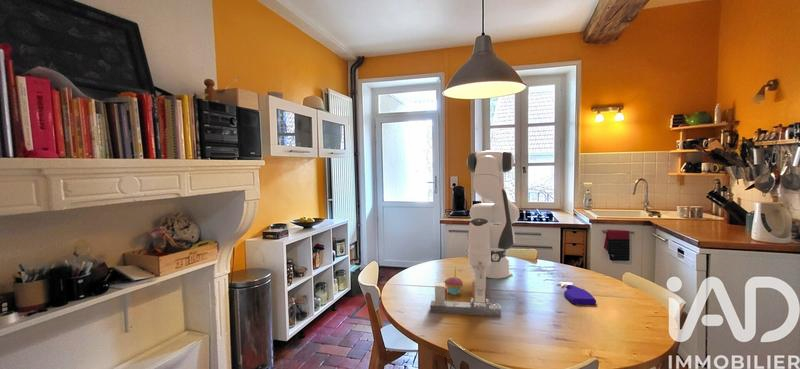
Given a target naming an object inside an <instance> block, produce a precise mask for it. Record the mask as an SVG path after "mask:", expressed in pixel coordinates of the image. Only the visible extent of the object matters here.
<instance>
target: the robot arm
mask: <svg viewBox="0 0 800 369" xmlns="http://www.w3.org/2000/svg"><path fill="white" fill-rule="evenodd" d="M514 164H515V158H514V156H513V152H511V151H509V150H496V149H495V150H494V149H490V150H483V151H482V150H480V151H472V152H470V153H469V154H468V155H467V159H466V165H467V169H468V171H470V172H471V173H474V175H473V190H474V192H475V193H476V194H477V195H478V196H479V197H481V198H483V199H484V200H487V201H490V202H479V203H475V204H473V205H472V206H471V207H470V209H469V217H470V219H471V220H470V221H469V226H468V230H467V242H468V245H469V246H468V253H467V254H468V259H467V260H468V262H467V263H468V264H469V265H470V266H471V269H473V274H474V279H475V283H476V289H477V290H478V296H483V290H485V291H486V289H487V284H486V283H487V278H490V279H504V278H505V279H506V278H507V277H510V276H513V272H512V271H510V260H509V259H508V258H507V250H509V249H511V248H512V247H513V246H514V245H515V242H516V235H515V230H514V228H513V225H512V224H516V223H517V221H518V220H519V218H520V209H519V207H518V206H517V205H515V204H514V203H512V202H511V201H510V199H509V198H508V195H507V192H506V190H505V179H504V178H505V177H504V173H508V172H510V171H511V170H512V169H513V167H514Z"/></svg>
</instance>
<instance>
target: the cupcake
mask: <svg viewBox="0 0 800 369" xmlns="http://www.w3.org/2000/svg"><path fill="white" fill-rule="evenodd" d="M456 272H457V268H456V266H455V267H454V271H453V273H454V275H453V277H449V278H447V279H446V280H445V281H444V283H445V286H447V293H448V294H449V293H450V295H452V294H453V296H454V295H455V296H456V295H458V294H460V290H461V288H463V285H464V283H463V281H462V279H460V278H458V277H456V274H457V273H456Z"/></svg>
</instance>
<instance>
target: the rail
mask: <svg viewBox="0 0 800 369" xmlns="http://www.w3.org/2000/svg"><path fill="white" fill-rule="evenodd" d="M489 301H490V300H489V298H485V303H479V302H475V297H471V298H470V302H468V301H448V289H447V286H445V282H435V285H434V300H431V301H430V305H429V308H430V313H434V314H450V315H465V316H467V315H470V316H485V317H486V316H488V317H502V308H501V305H500V303H490V302H489Z"/></svg>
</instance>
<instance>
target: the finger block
mask: <svg viewBox="0 0 800 369" xmlns="http://www.w3.org/2000/svg"><path fill="white" fill-rule="evenodd" d="M473 280H474V281H473V282H472V298H474V303H486V290H483V296H478V290H477V289H476V283H475V278H474V279H473Z"/></svg>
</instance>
